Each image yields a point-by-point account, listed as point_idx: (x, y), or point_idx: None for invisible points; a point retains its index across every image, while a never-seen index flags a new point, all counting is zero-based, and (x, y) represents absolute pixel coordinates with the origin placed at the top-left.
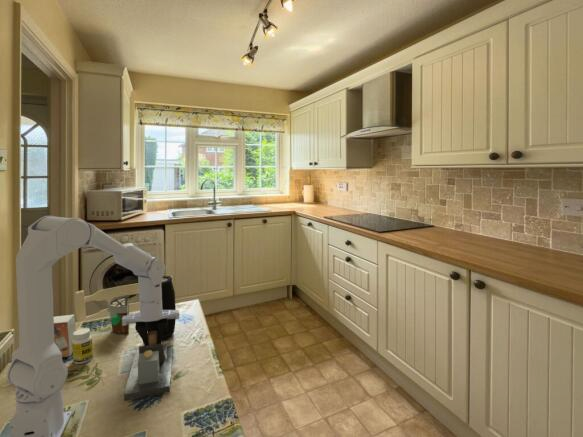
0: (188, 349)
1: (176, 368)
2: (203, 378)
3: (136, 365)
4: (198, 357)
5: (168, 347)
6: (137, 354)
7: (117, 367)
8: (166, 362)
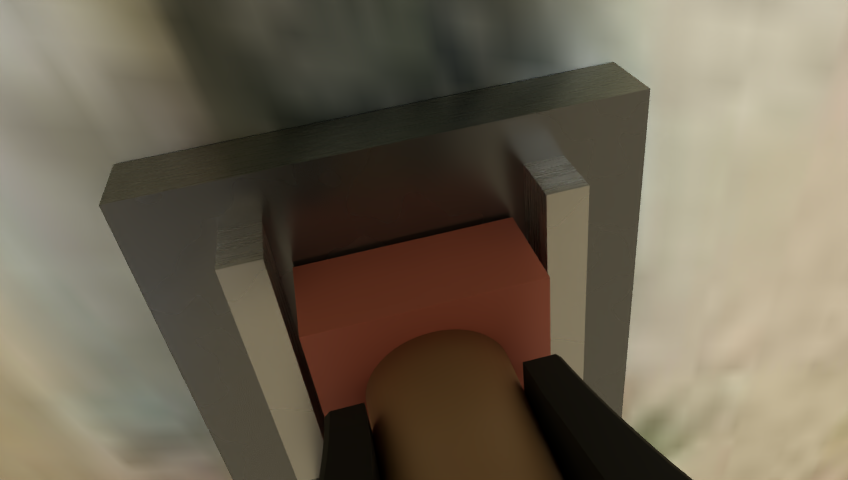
0: (793, 71)
1: (633, 385)
2: (792, 462)
3: (283, 476)
4: (842, 239)
5: (585, 153)
6: (182, 304)
7: (15, 394)
8: None
